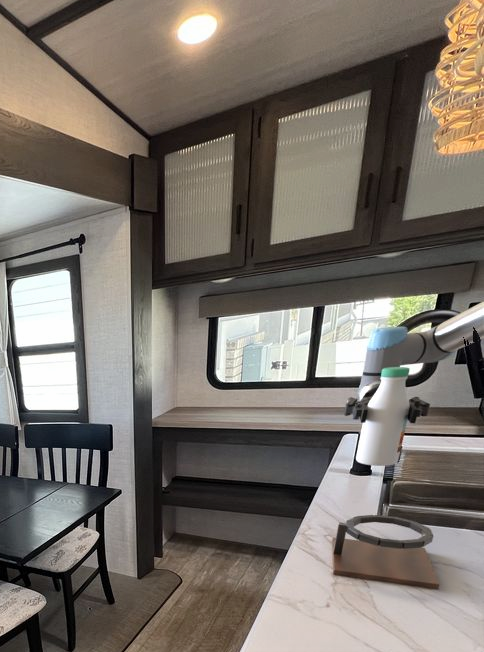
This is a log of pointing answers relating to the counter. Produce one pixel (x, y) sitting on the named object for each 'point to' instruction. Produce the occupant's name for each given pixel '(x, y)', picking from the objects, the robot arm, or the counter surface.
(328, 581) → the counter surface
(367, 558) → the ring holder
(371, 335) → the robot arm
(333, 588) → the counter surface
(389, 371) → the milk bottle
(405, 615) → the counter surface
